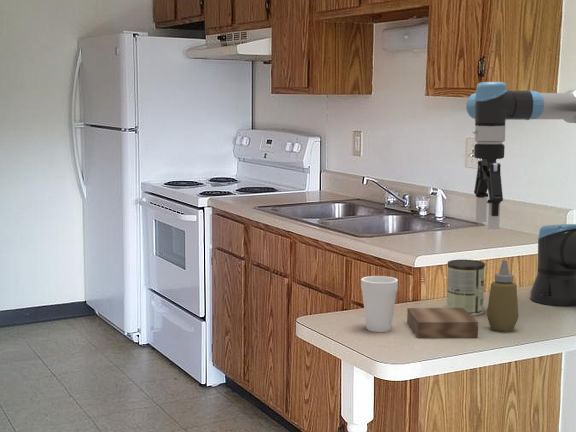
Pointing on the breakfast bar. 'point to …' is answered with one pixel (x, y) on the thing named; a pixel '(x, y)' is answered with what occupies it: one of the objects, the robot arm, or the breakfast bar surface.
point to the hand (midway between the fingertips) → (486, 225)
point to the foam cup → (379, 301)
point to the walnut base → (442, 323)
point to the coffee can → (466, 285)
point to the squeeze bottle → (503, 301)
